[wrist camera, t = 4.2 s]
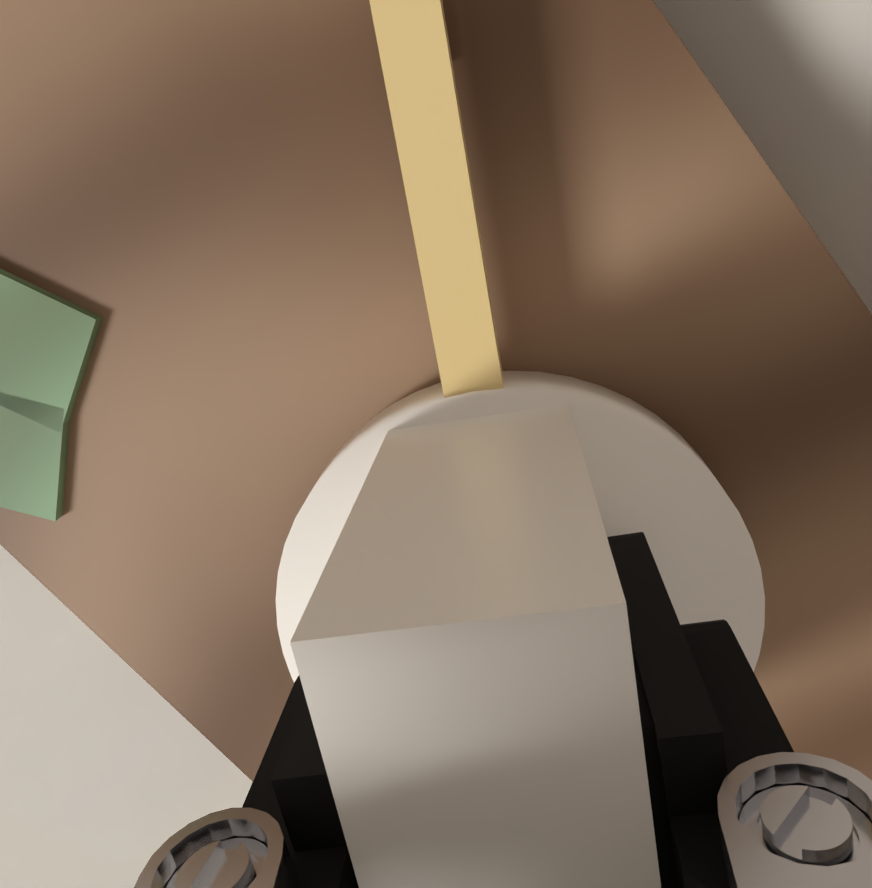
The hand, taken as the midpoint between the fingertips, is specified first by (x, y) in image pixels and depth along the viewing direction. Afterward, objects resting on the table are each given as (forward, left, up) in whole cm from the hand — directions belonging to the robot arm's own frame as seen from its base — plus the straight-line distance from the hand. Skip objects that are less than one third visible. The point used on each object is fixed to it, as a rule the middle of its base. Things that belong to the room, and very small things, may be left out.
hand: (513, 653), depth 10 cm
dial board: (0, 0, -4) cm, 4 cm away
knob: (+3, -2, -2) cm, 4 cm away
